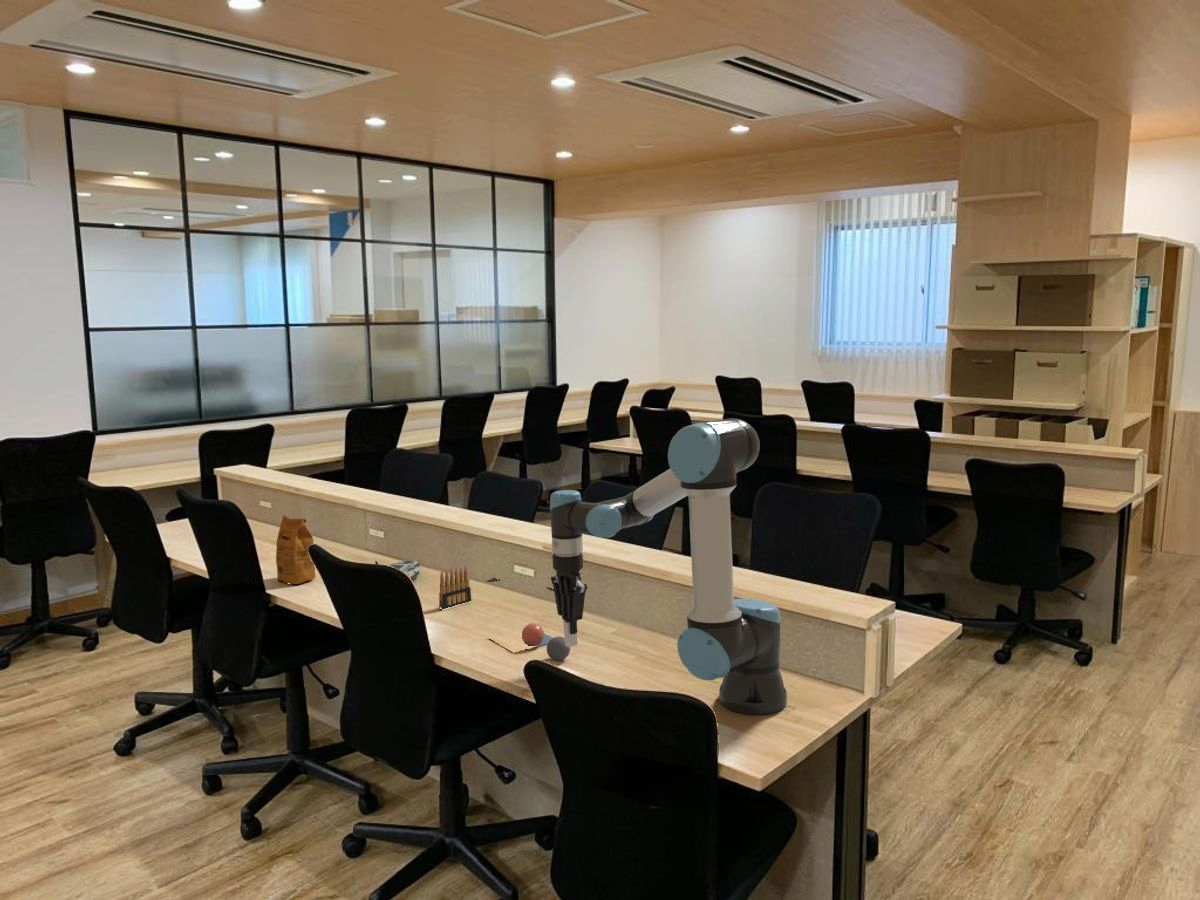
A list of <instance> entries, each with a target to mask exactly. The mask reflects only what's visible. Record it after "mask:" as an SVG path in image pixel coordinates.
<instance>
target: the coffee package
mask: <svg viewBox="0 0 1200 900" xmlns="http://www.w3.org/2000/svg"><path fill="white" fill-rule="evenodd" d="M306 523H307V520H306V518H290V517H289V516H287V515H286V514H284V515H282V519H281V522H280V525H279V529H278V533H277V537H276V550H275V563H276V571H277V573H276V574H277V581H278V580H280V581H283V583H284V582H285V583H290V584H299V585H301V584H303V583H306V582H309V580H310V581H312V580H314V579H316V566H315V567H314V564H313V562H312V561H311V559H310V557H309V554H308V547H309V546H310V545H314V537H313V536H312V534H311V531H309V529H308V527H307V526H306ZM280 581H279V582H280ZM285 583H284V584H285ZM300 583H301V584H300Z"/></svg>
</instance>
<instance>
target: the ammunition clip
mask: <svg viewBox="0 0 1200 900" xmlns="http://www.w3.org/2000/svg"><path fill="white" fill-rule="evenodd" d="M440 571H441V572H440V578H439V593H438V594H439V595H438V598H439V604H438V605H439V608H440V607H441V608H442V609H445V608H448V607H452V606H455V605H458V604H462V603H466V602H469V601H471V602H472V592H471V591H472V590H471V586H470V577H469V570H468V566H467V564H465V566H464V568H463V566H462V565H461V566H460V567H459V569H458V567H455V570H454V569H453V568H451V569H450V571H448V569H446V570H445V574H444V571H443V570H440ZM439 608H438V609H439Z"/></svg>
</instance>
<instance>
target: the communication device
mask: <svg viewBox="0 0 1200 900" xmlns="http://www.w3.org/2000/svg"><path fill="white" fill-rule="evenodd" d="M374 563H375V565H376V564H379V562H378V561H377V560H376V561H375V562H374ZM388 566H393V567H395V568H397V569H399V570H401V571H403V572H404V573H406V574H407V575H408V576H409V577H410V578H411V580H412V581H413V582H414V580H416V581H417V577H418V576H419V575H420V561H419V562H418V560H413V559H412V560H410V559H409V560H408V559H407V560H401V561H398V562H394V563H390V564H389V565H388ZM414 583H415V582H414Z"/></svg>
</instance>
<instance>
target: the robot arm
mask: <svg viewBox="0 0 1200 900" xmlns="http://www.w3.org/2000/svg"><path fill="white" fill-rule="evenodd" d="M760 444H761V442H760V438H759V436H758V433H757V431H756V430H755V428H754V427H752V426H751V424H749V423H747V422H746V421H745V420H742V419H739V418H732V417H731V418H724V419H719V420H712V421H703V422H695V423H692V424H690V425H687V426H684V427H682V428H681V429H679V430H678V431H677V432H676V434H674V436H673V437H672V439H671V441H670V443H669V446H668V452H667V461H668V466H669V469H667V470H665V471H664V472H662V473H661V474H659V475H658V476H655V477H654V478H653V479H650V480H649V481H648V482H645V484H642V486H639V487H637V489H635V490H633V491H632V492H630V493H628V494H627V495H624V496H622V497H617V498H613V499H608V500H603V501H599V502H586V501H582V497H581V493H580V491H578V490H575V489H560V490H556V491H554V492H552V493H551V494H550V499H549V501H550V502H549V503H550V504H549V511H550V530H551V531H550V532H551V547H552V548H551V549H552V551H551V552H552V553H553V554H552V556H551V557H552V559H551V560H552V568H553V570H554V571H556V572H555V573H556V574H555V575H553V576H551V577H550V580H551V583H552V586H553V587H552V588H553V593H554V599H555V604H556V609H557V610H556V611H557V615H558V616H561V619H562V620H563V631H564V633H563V634H564V638H565V646H567V647H570V648H571V647H574V646H577V645H578V621H580V620H583V617H584V616H583V615H584V607H585V606H584V605H585V597H586V592H587V589H588V584H584V585H583V584H582V583H581V577H580V573H579V571H580V570H581V569H582V568H583V564H584V555H583V553H582V552H583V549H584V545H583V535H590V536H594V537H598V538H612V537H614V536H615V535H616V534H617V533H618V532H620V530H622V529H627V528H630V527H635V526H641V525H643V524H646V523H647V522H650V521H651V520H653V518H654V517H655V515H656V514H658V513H660V512H661V511H663V510H665V509H667V508H669V507H670V506H672V505H673V504H676V503H677V502H678V501H680V500H683V498H686V497H688V511H689V513H688V516H689V532H690V533H689V534H690V535H689V536H690V539H689V540H690V556H691V557H690V558H691V575H692V576H691V577H692V578H691V580H692V581H691V582H692V600H693V606H692V607H691V608H690V609H689V610H688V611H687V613H686V623H687V624H686V625H687V626H686V627H687V628H686V629H684V630H683V632H682V633H681V634H680V635H679V636H678V639H677V653H678V656H679V659H680V661H681V663H682V665H683V666H684V667H685V668H686V669H687V671H688V672H689V673H690V674H691V675H692V676H694V677H695V678H697V679H699V680H702V681H713V680H717V679H720V678H722V682H721V685H720V686H719V690H718V693H719V694H718V697H719V698H718V699H719V700H718V701H719V702H720V704H721V705H722V706H723V707H724V708H726V709H728V710H730V711H731V712H736V713H739V714H746V715H755V716H758V715H759V716H760V715H761V716H762V715H770V714H774V713H777V711H778V712H780V711H781V709H782V710H783V709H784V708H786V706H787V703H788V702H787V701H788V692H787V690H786V687H785V685H784V681H783V677H782V676H783V675H782V674H781V670H780V655H781V654H780V649H781V648H780V647H781V645H780V644H781V643H780V642H781V624H782V621H781V617H780V614H781V613H780V609H779V608H778V607H777V605H775V604H773V603H770V602H767V601H764V600H760V599H759V600H758V599H751V598H735V594H734V593H735V592H734V570H733V547H732V523H731V521H732V520H731V518H732V517H731V499H730V498H731V497H730V496H731V493H732V491H734V489H735V488H736V487H737V473H739V472H741V471H745V470H746V469H748V468H749V467H751V466H752V465H753V464H754V463H755V462H756V460H757V458H758V456H759V454H760V453H759V452H760V450H761V448H760Z"/></svg>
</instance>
